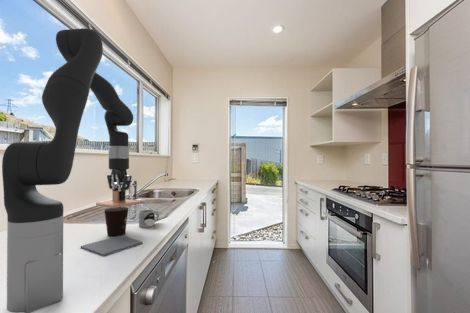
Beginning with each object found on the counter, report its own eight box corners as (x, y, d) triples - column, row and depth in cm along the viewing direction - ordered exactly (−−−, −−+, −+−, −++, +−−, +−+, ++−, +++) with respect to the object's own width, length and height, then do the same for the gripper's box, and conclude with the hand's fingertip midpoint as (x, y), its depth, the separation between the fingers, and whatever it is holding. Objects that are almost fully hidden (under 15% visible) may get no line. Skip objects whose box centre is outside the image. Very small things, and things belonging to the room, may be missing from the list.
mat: (142, 243, 88) (142, 241, 88) (103, 256, 77) (103, 254, 77) (119, 237, 96) (119, 235, 96) (80, 247, 84) (80, 246, 84)
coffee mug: (119, 238, 95) (119, 211, 95) (99, 236, 96) (99, 210, 97) (137, 229, 106) (137, 206, 106) (119, 228, 108) (118, 205, 108)
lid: (141, 203, 103) (141, 190, 103) (113, 208, 93) (113, 193, 93) (123, 201, 110) (123, 188, 110) (96, 205, 100) (96, 191, 100)
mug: (145, 228, 108) (145, 213, 108) (135, 226, 111) (135, 211, 111) (163, 223, 116) (163, 209, 116) (153, 221, 120) (153, 207, 120)
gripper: (100, 157, 102) (100, 200, 102) (120, 157, 95) (120, 203, 94) (117, 157, 109) (117, 197, 108) (137, 157, 101) (138, 200, 101)
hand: (119, 199), depth 101 cm, fingers closed on lid, 3 cm apart
